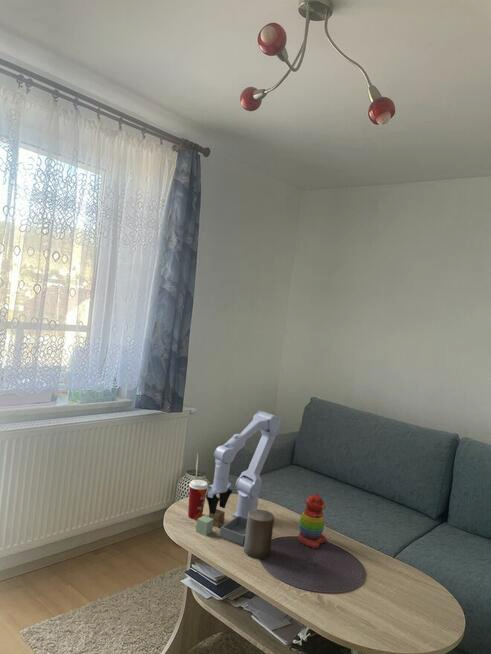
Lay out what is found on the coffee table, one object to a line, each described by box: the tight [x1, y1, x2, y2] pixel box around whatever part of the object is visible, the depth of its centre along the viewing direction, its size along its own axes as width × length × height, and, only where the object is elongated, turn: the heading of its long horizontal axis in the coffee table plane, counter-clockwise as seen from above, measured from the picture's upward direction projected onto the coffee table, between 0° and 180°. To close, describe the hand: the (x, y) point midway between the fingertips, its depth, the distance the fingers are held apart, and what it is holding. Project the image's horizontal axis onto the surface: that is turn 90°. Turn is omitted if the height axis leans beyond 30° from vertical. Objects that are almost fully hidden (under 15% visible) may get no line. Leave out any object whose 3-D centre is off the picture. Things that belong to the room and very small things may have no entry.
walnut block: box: [208, 508, 226, 529], centre depth 192 cm, size 4×4×5 cm
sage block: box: [195, 515, 214, 536], centre depth 184 cm, size 4×4×5 cm
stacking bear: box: [297, 493, 327, 549], centre depth 187 cm, size 11×10×18 cm
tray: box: [219, 516, 247, 548], centre depth 184 cm, size 14×10×4 cm
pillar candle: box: [243, 508, 275, 559], centre depth 174 cm, size 10×10×15 cm
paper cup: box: [187, 479, 209, 520], centre depth 196 cm, size 8×8×14 cm
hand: (217, 510), depth 191 cm, fingers open, 7 cm apart
